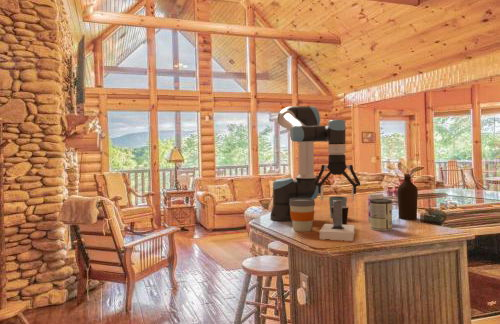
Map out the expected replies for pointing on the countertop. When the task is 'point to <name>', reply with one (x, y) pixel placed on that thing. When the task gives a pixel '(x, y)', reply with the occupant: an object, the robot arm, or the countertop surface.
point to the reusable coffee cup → (302, 213)
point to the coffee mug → (343, 214)
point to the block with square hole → (337, 232)
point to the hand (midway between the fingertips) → (337, 200)
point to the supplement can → (370, 197)
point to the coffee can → (381, 214)
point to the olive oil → (407, 199)
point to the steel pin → (337, 214)
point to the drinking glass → (344, 199)
